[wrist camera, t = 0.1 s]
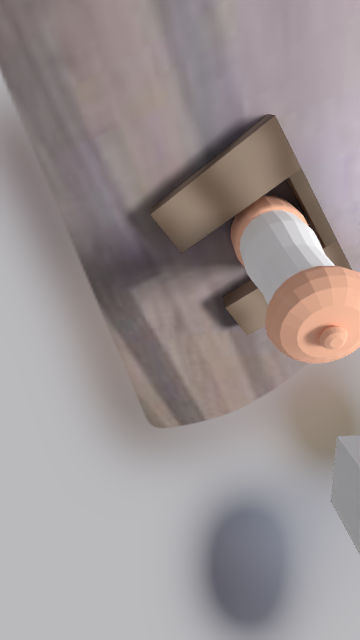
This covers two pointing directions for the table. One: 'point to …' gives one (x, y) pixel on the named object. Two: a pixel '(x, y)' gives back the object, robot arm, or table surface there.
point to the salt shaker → (298, 283)
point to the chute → (242, 204)
